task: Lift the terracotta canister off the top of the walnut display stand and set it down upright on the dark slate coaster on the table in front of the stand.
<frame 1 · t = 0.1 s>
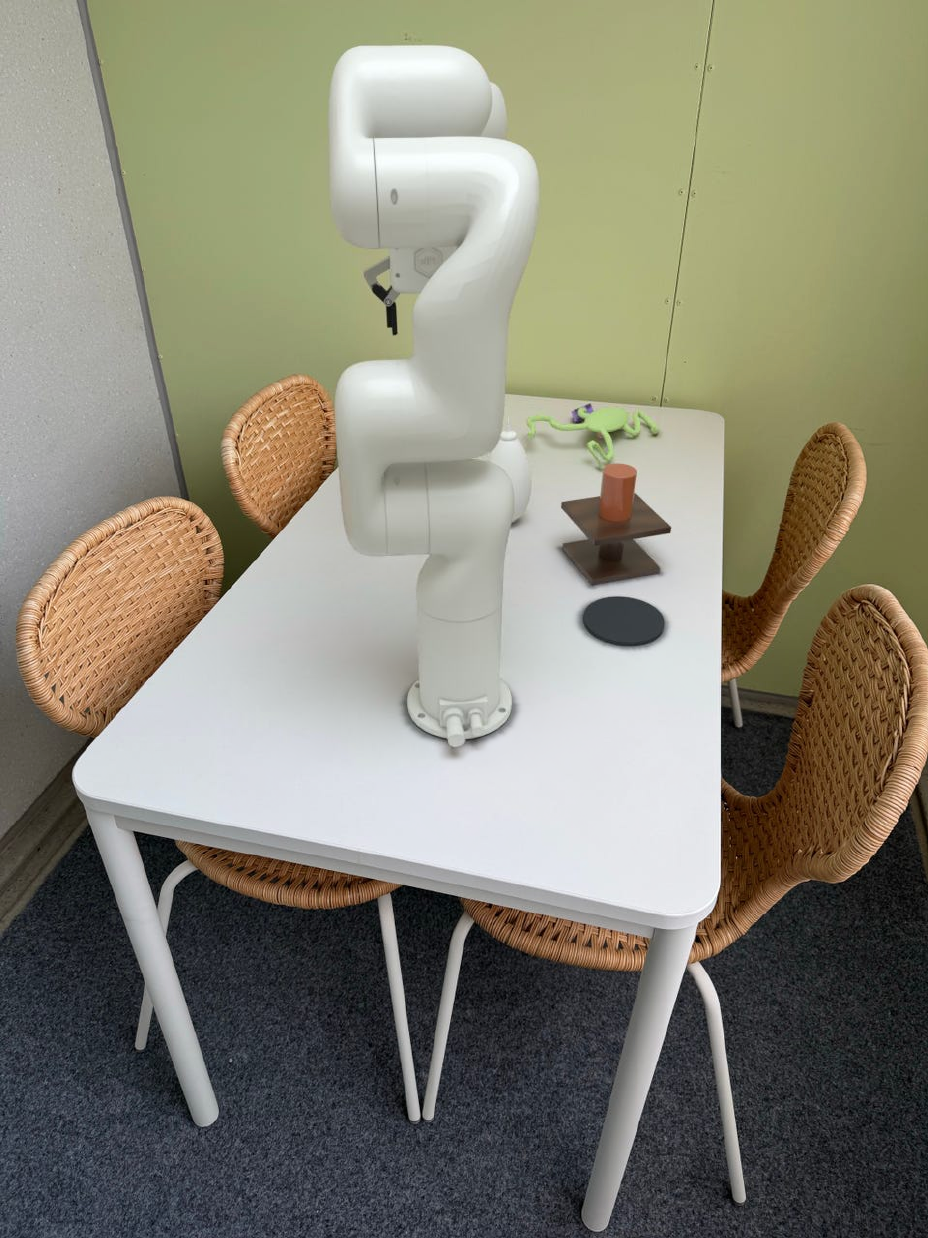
hand: (428, 331, 123), 31 cm above the table, tool pointing down, fingers open, 9 cm apart
canister: (615, 514, 127), point 8 cm above the table, touching stand
coaster: (623, 622, 119), on the table
sauce bottle: (505, 522, 142), on the table
stand: (609, 560, 132), on the table
figurine: (591, 442, 169), on the table
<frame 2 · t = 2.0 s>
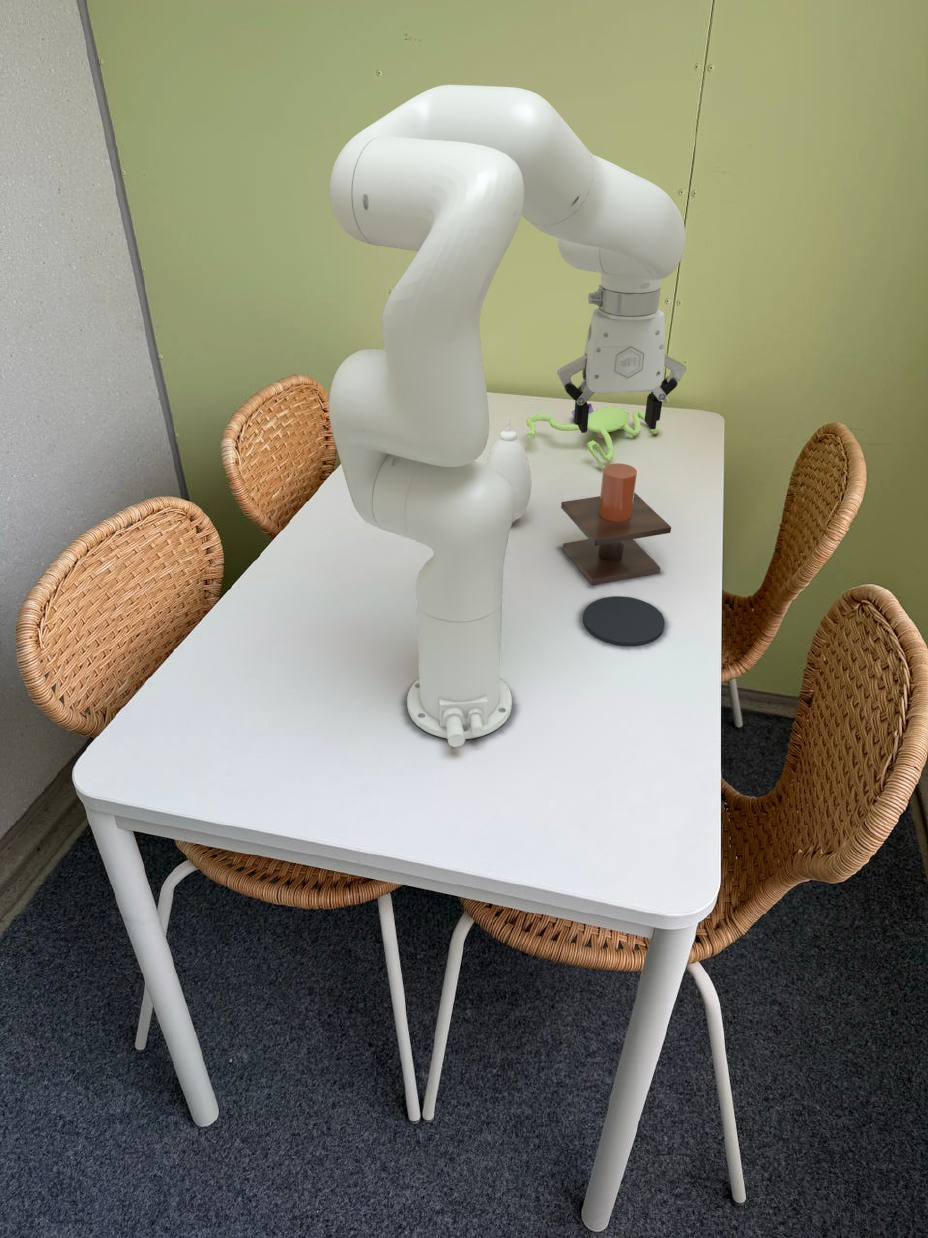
hand: (616, 427, 120), 21 cm above the table, tool pointing down, fingers open, 9 cm apart
nothing on the table moved.
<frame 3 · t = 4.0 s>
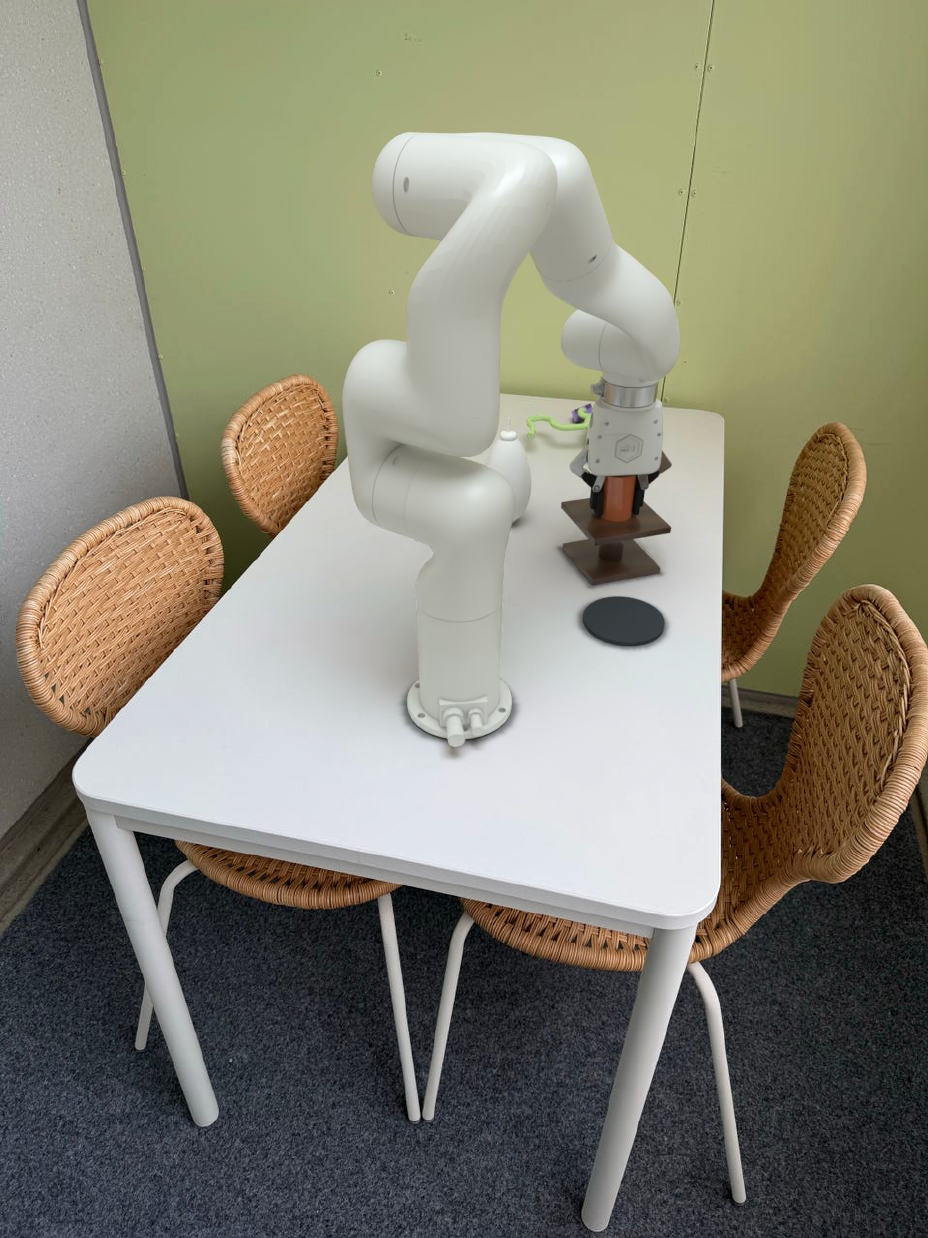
hand: (615, 510, 127), 9 cm above the table, tool pointing down, fingers closed on canister, 4 cm apart
canister: (615, 514, 127), point 8 cm above the table, touching gripper, stand
everything else where it was.
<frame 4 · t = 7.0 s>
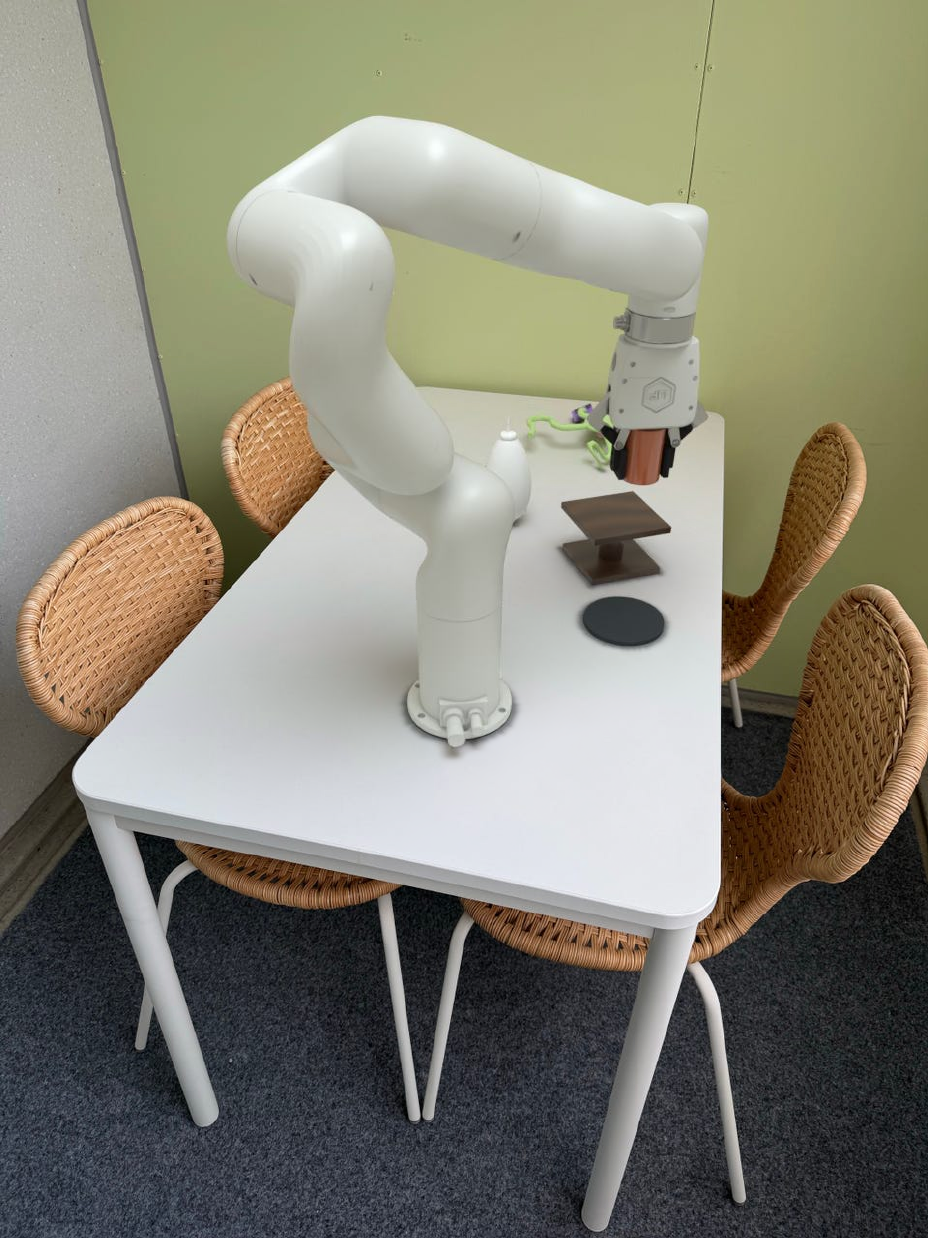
hand: (640, 472, 108), 22 cm above the table, tool pointing down, fingers closed on canister, 4 cm apart
canister: (639, 476, 108), point 21 cm above the table, touching gripper
everything else where it was.
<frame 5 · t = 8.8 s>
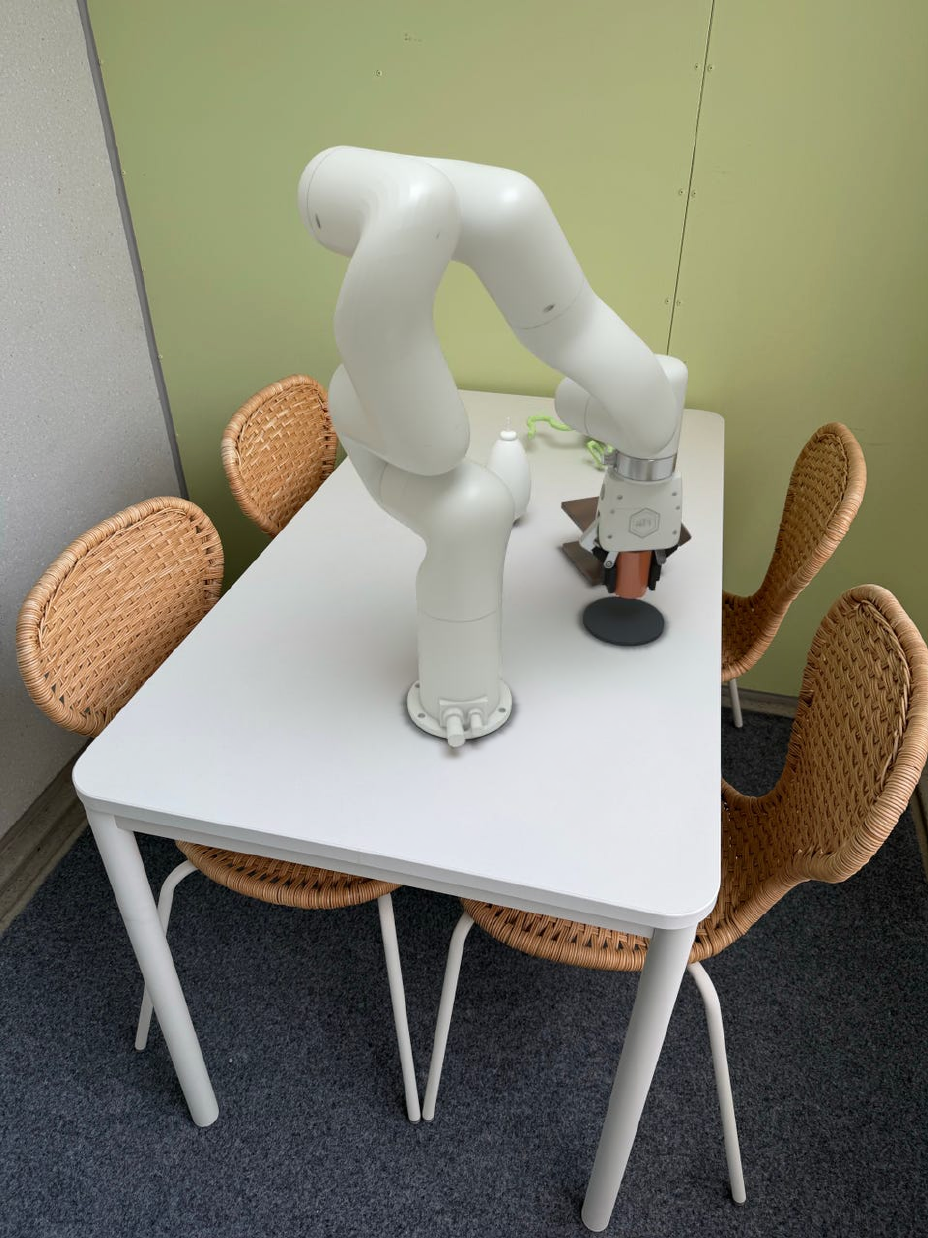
hand: (629, 585, 116), 6 cm above the table, tool pointing down, fingers closed on canister, 4 cm apart
canister: (628, 588, 116), point 5 cm above the table, touching gripper
everything else where it was.
when the fingers open (1 cm above the table, at t = 10.3 s): canister stays where it is, resting on coaster.
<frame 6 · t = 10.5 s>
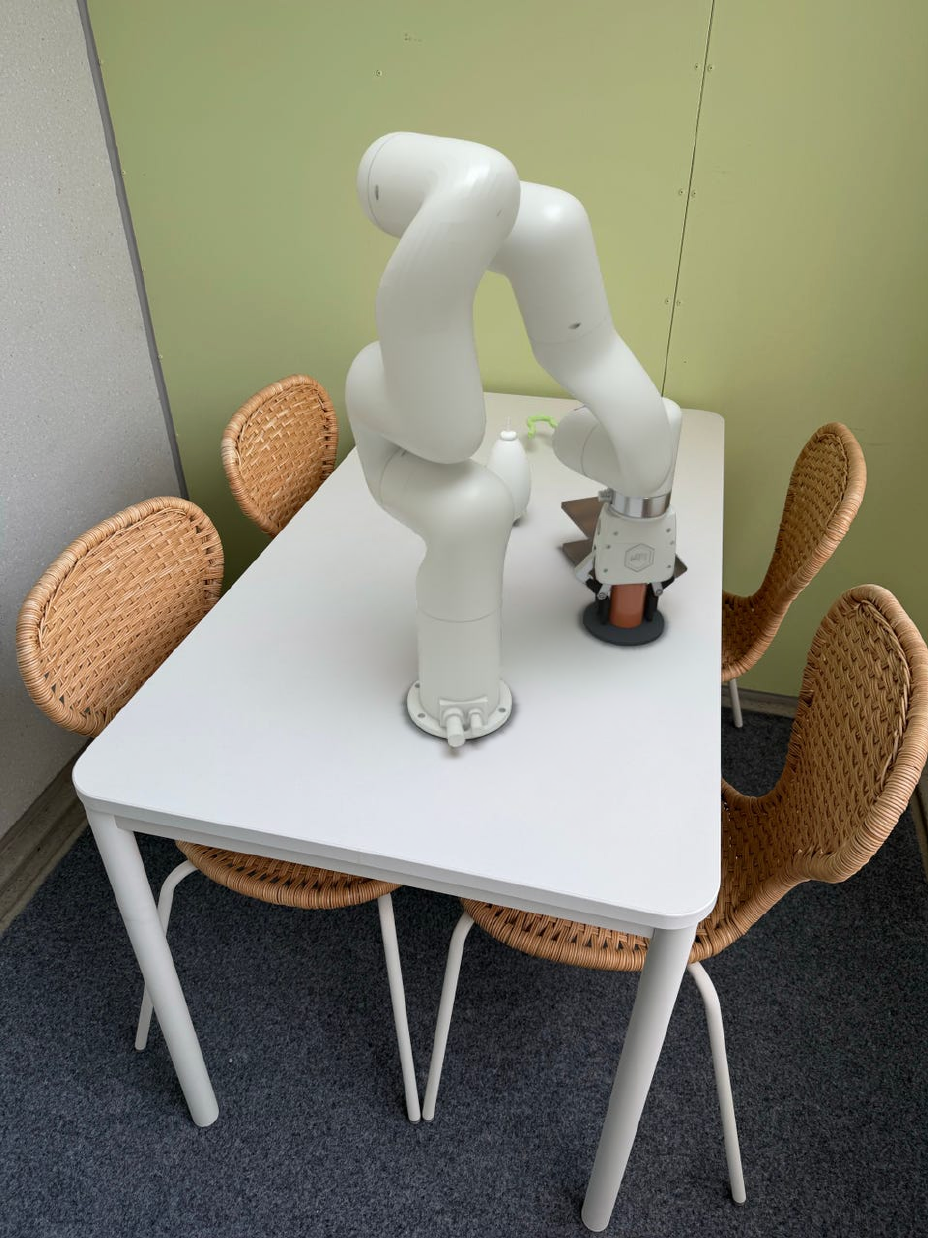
hand: (624, 615, 118), 1 cm above the table, tool pointing down, fingers open, 5 cm apart
canister: (624, 617, 119), point 1 cm above the table, touching coaster
everything else where it was.
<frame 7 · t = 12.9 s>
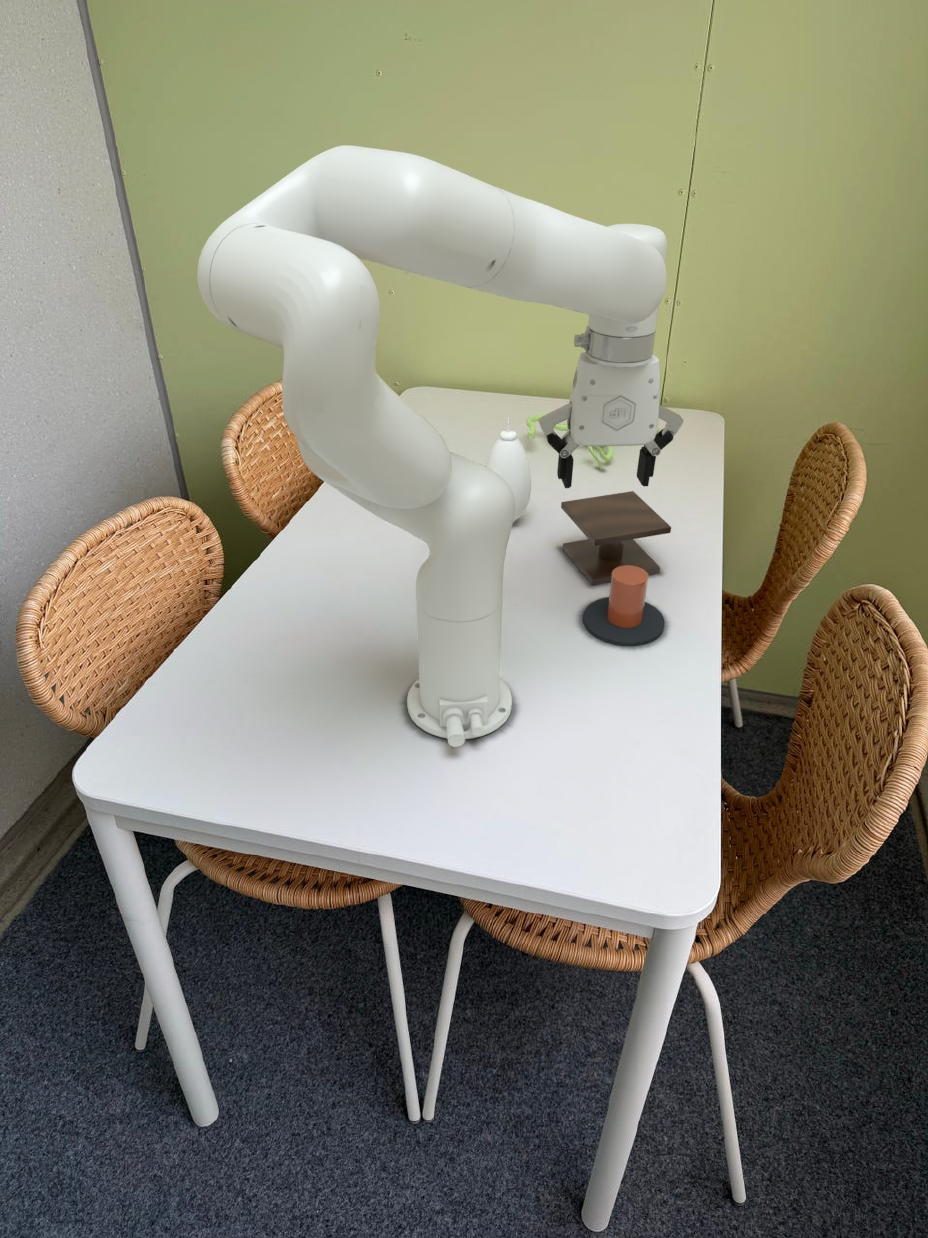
hand: (604, 482, 108), 21 cm above the table, tool pointing down, fingers open, 9 cm apart
nothing on the table moved.
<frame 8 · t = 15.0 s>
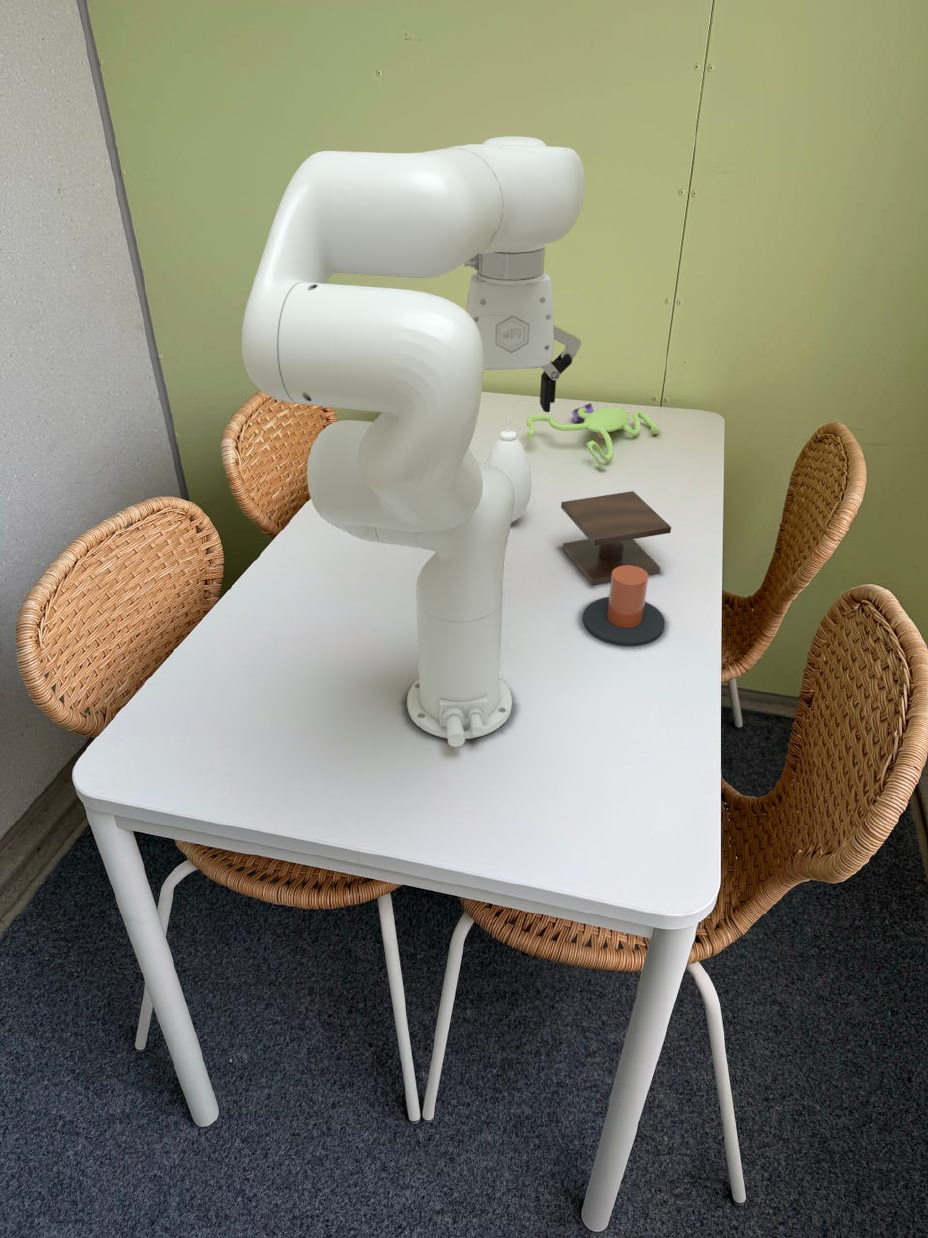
hand: (506, 409, 107), 28 cm above the table, tool pointing down, fingers open, 9 cm apart
nothing on the table moved.
at the end: canister 0.1 cm off-centre on the coaster, point 0.6 cm above the coaster's base; canister tilted 0°; the gripper is holding nothing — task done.
